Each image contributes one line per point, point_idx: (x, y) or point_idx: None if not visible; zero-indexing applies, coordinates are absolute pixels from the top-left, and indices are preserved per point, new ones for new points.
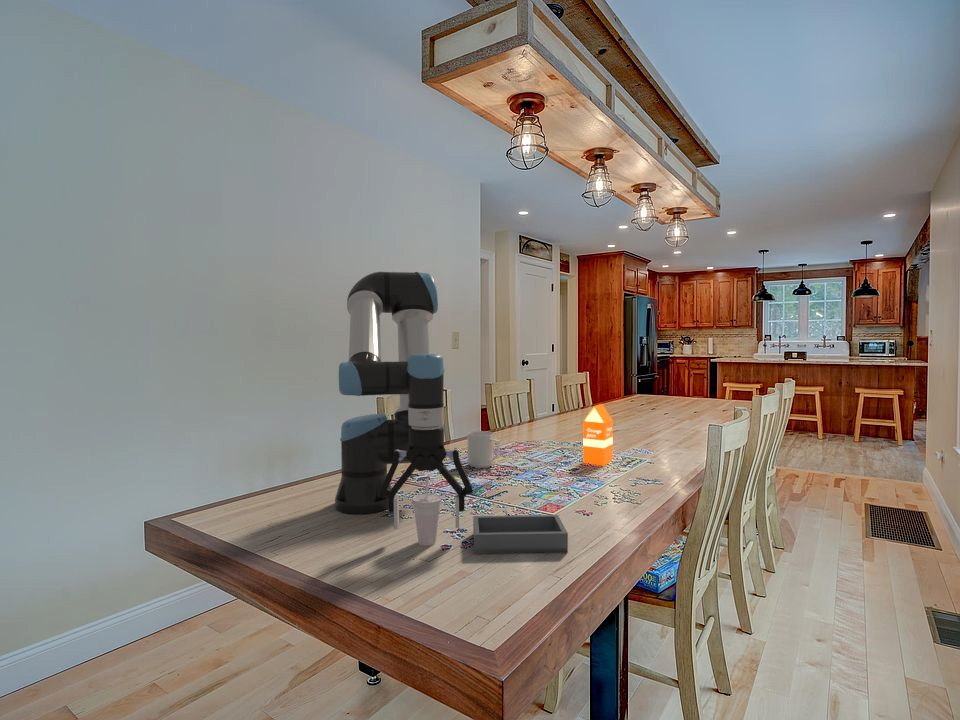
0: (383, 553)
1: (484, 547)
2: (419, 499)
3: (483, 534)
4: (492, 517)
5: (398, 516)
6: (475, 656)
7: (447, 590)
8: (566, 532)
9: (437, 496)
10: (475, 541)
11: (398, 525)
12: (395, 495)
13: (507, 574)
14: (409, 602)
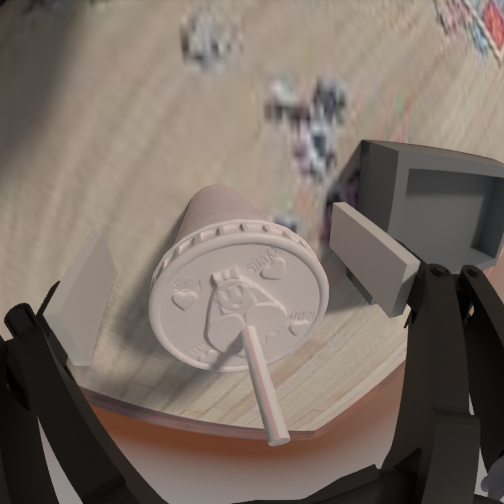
0: (112, 294)
1: None
2: (201, 336)
3: None
4: (441, 169)
5: (98, 266)
6: (300, 436)
7: (281, 388)
8: (496, 262)
9: (307, 278)
10: (363, 293)
11: (108, 250)
12: (49, 323)
13: (377, 334)
14: (230, 412)
